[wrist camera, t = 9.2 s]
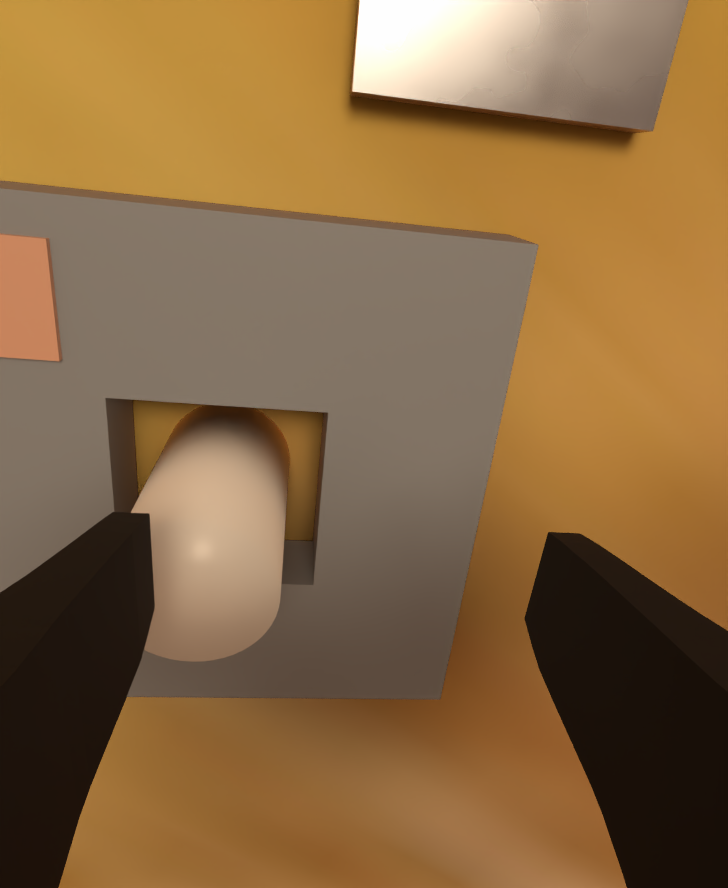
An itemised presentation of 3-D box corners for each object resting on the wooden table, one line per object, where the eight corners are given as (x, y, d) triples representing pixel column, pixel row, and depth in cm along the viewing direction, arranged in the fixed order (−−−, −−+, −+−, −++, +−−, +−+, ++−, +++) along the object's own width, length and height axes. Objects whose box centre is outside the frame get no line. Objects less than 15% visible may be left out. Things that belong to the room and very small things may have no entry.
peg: (294, 407, 19) (286, 525, 13) (284, 513, 21) (274, 664, 15) (166, 396, 19) (94, 513, 12) (167, 506, 20) (104, 659, 14)
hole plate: (508, 235, 17) (541, 245, 15) (427, 649, 24) (441, 703, 22) (-79, 172, 16) (-151, 173, 13) (8, 641, 22) (-30, 700, 20)
